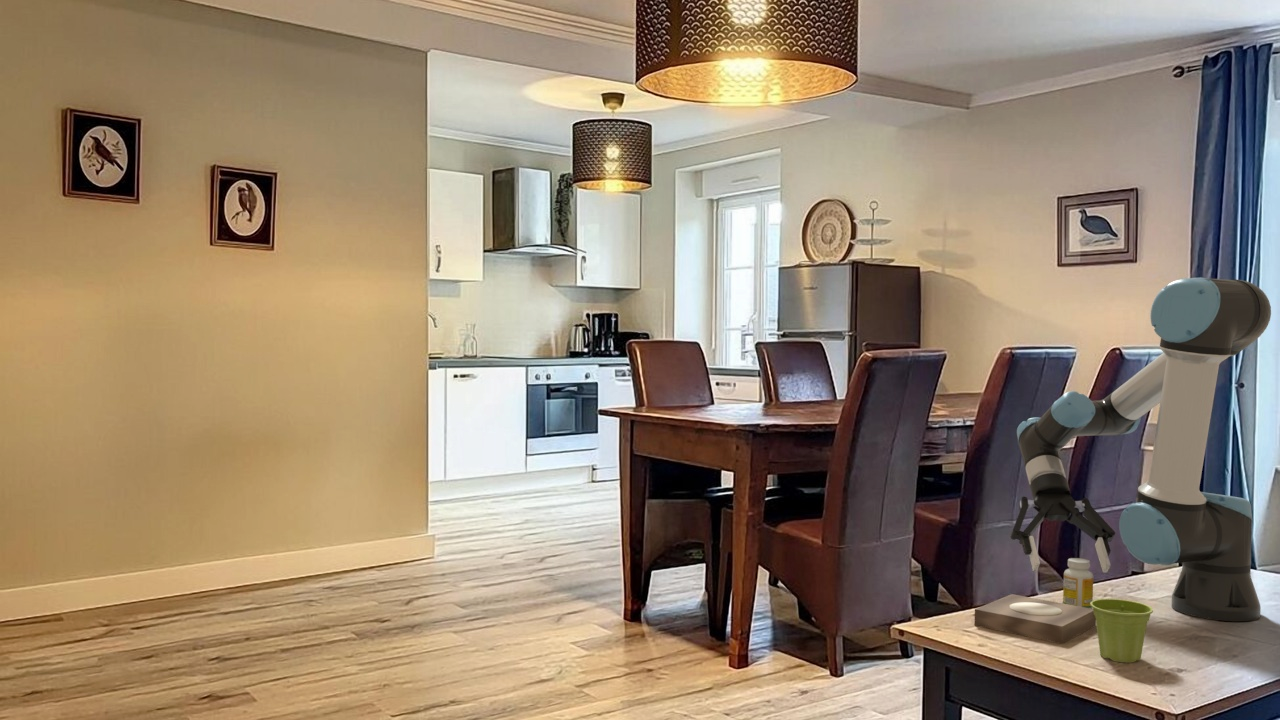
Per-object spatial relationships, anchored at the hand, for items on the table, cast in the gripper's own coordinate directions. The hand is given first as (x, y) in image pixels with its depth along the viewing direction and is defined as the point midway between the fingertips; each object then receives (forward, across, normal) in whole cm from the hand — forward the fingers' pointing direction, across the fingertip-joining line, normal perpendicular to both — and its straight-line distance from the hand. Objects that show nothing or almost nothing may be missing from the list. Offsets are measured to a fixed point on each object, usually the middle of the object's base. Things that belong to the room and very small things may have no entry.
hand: (1071, 568), depth 203 cm
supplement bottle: (+7, -1, -4) cm, 8 cm away
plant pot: (+29, +4, +18) cm, 35 cm away
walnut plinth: (+16, +12, +6) cm, 21 cm away
